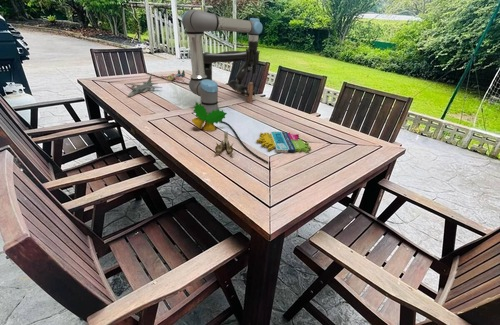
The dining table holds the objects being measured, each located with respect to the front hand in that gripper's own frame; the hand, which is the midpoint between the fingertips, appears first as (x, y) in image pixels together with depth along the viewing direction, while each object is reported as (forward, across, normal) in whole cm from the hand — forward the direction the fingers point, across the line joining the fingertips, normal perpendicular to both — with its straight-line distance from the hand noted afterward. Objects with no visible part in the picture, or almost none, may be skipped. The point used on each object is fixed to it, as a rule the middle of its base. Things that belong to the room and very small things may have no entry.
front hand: (251, 72), depth 210 cm
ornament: (+24, -32, +62) cm, 74 cm away
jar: (+24, 0, 0) cm, 24 cm away
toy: (+24, +105, +13) cm, 108 cm away
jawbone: (+24, -63, +73) cm, 99 cm away
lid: (-4, 0, 0) cm, 4 cm away
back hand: (+17, -3, 0) cm, 17 cm away
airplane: (+24, +71, +62) cm, 97 cm away
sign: (+24, -73, +39) cm, 86 cm away
